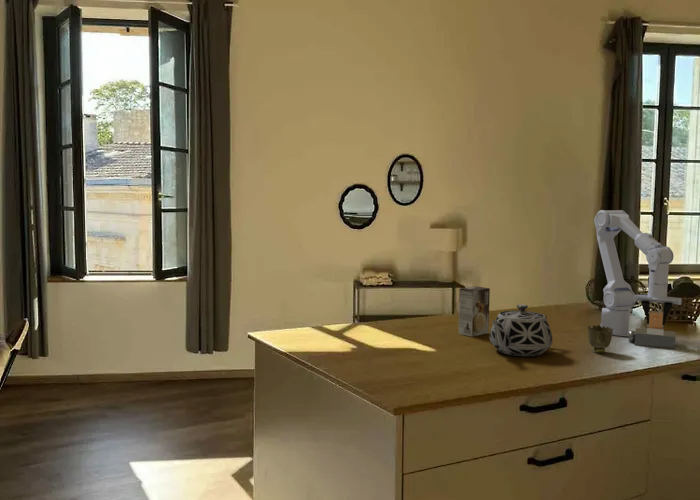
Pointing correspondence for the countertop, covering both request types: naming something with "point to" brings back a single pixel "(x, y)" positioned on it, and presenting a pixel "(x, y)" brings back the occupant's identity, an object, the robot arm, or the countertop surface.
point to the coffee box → (474, 311)
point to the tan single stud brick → (655, 319)
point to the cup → (599, 337)
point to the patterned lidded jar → (521, 333)
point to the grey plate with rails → (653, 337)
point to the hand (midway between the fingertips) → (655, 324)
